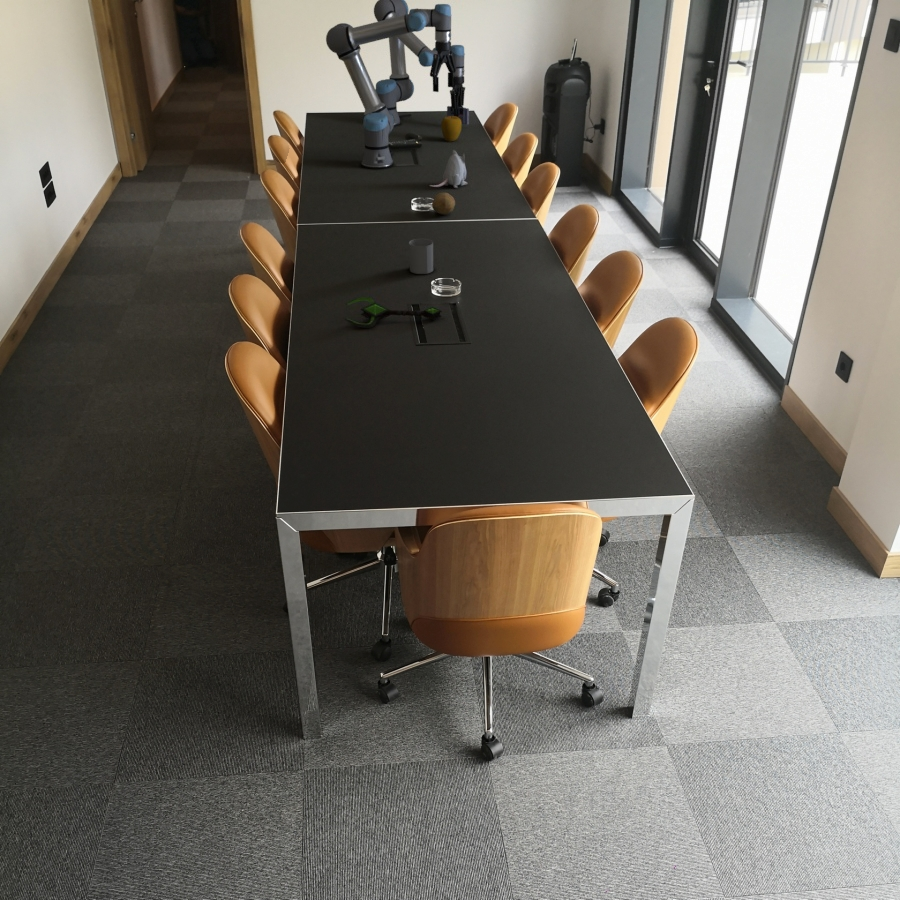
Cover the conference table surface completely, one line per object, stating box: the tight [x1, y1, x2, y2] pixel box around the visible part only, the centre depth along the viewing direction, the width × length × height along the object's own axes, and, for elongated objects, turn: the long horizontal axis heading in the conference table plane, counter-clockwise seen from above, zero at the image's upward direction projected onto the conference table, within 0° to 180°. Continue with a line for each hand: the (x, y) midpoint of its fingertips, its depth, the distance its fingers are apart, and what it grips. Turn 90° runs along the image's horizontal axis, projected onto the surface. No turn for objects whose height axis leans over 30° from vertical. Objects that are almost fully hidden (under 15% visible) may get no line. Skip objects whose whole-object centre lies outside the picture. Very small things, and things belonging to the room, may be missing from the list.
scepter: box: [344, 296, 443, 329], centre depth 270 cm, size 6×13×30 cm
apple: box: [441, 115, 463, 142], centre depth 467 cm, size 11×11×13 cm
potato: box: [431, 192, 456, 216], centre depth 360 cm, size 10×14×8 cm
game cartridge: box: [446, 105, 470, 125], centre depth 491 cm, size 14×3×9 cm, turn 59°
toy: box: [428, 149, 468, 189], centre depth 390 cm, size 9×24×15 cm, turn 137°
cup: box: [408, 237, 434, 275], centre depth 305 cm, size 8×8×10 cm
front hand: (443, 89), depth 418 cm, fingers open, 13 cm apart
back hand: (457, 120), depth 493 cm, fingers closed on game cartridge, 2 cm apart
